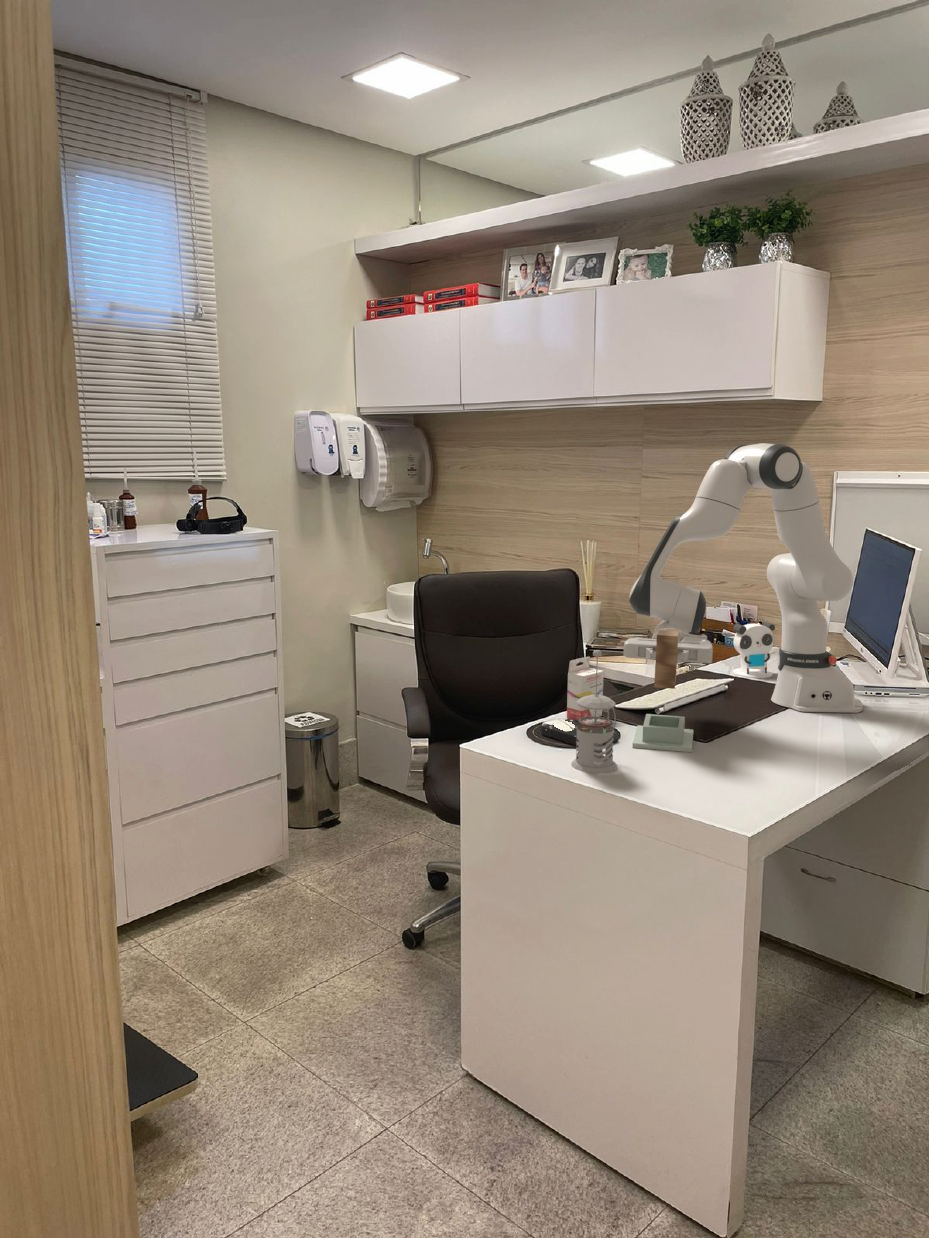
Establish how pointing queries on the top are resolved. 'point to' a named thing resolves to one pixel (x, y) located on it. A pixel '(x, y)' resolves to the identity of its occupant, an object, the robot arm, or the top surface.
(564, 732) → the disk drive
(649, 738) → the socket dock
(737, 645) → the panda figurine
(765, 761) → the top surface
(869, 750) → the top surface
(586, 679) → the ink cartridge box
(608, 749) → the french press
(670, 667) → the walnut block
